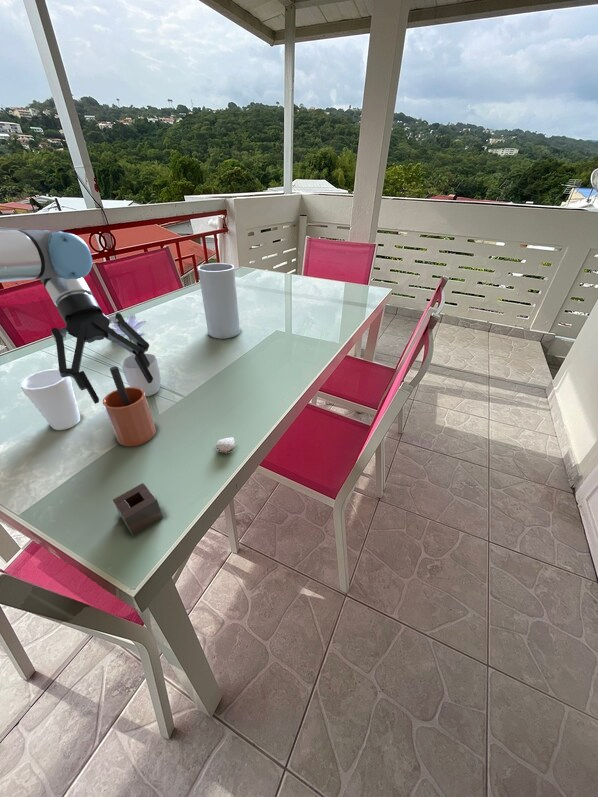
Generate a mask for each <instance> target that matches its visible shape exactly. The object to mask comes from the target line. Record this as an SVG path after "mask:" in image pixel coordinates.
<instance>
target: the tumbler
mask: <svg viewBox="0 0 598 797" xmlns="http://www.w3.org/2000/svg"><path fill="white" fill-rule="evenodd" d="M125 389H126V392H127V395H128V398H129V401H130V404H131V405H129V406H125V407H123V405H122V402H121V399H120V396H119V394H118V391H117V389H115V390H112V391H111V392H109V393H108V394H106V395H105V396H104V398H103V399H102V406H103V408H104V411H105V413H106V415H107V418H108V421H109V423H110V425H111V428H112V431H113V433H114V435H115V438H116V440H117V443H119V445H122V446H125V447H137V446H140V445H142V444H145V443H147V442H148V441H151V439H152V438H153V437H154V436H155V434H156V431H157V429H156V425H155V421H154V419H153V415H152V411H151V409H150V406H149V402H148V399H147V396H146V395H145V392H144V391H143V390H142V389H141V388H137V387H130V386H128V387H125Z"/></svg>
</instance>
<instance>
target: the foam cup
mask: <svg viewBox="0 0 598 797" xmlns="http://www.w3.org/2000/svg"><path fill="white" fill-rule="evenodd" d="M72 383H73V382H72V377H61V376H60V372H59V368H49V369H43V370H40V371H36V372H34V373H30V374H29V375H28V376H25V377H24V378H23V379H22V380H21V381H20V384H19V387H20V388H21V390H22V392H23V394H24V395H25V397H27V398H28V399H29V400H30V401H31V403H32V404H33V405H34V407H35V408H36V409H37V411H38V412H39V413H40V414H41V416H42V417H43V418H44V419H45V421H46V422H47V423H48V424H49V426H51V428H52V429H53V430H56V431H63V430H67V429H70V428H73V427H74V426H76V425H78V424H79V423H80V421H81V414H80V411H79V407H78V403H77V399H76V395H75V393H74V388H73V384H72Z"/></svg>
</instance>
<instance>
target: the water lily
mask: <svg viewBox="0 0 598 797" xmlns="http://www.w3.org/2000/svg"><path fill="white" fill-rule="evenodd" d="M136 319H137V316H136V314H131V316H130V317H128V318H127V319H126V321H125V322H126V323H127V324H128V325H129V326H130V327H131V328H132V329H134V330H135V331H136V332H137V333H138V334H139V335H140V336H141V335H142V334H143V332H142V331H137V330H139V329H140V328H142V327H143V326H144V325H145V324H146V323H147V320H142V321H139V320H136ZM138 321H139V322H138ZM111 326H112V327H113V328H112V327H110V328H111V329H113V330H114V331H115V332H116V333H118V334H119V335H121V336H123V337H124V338H125V336H127V335H126V334H125V333H123V332H122V331H121V330H120V328H119V327H118V326H115V325H114V324H112V325H111ZM128 340H129V341H131V342H132V343H134V342H133V341H132V340H131V339H130V338H129V337H128Z"/></svg>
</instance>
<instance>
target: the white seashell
mask: <svg viewBox="0 0 598 797" xmlns="http://www.w3.org/2000/svg"><path fill="white" fill-rule="evenodd" d="M235 447H236V441H235V438H234V437H226V438H221V439H219V440H217V442H216V443H215V448H216V451H218V452H219V453H221V454H230V453H232V452H233V451H234V449H235Z"/></svg>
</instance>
